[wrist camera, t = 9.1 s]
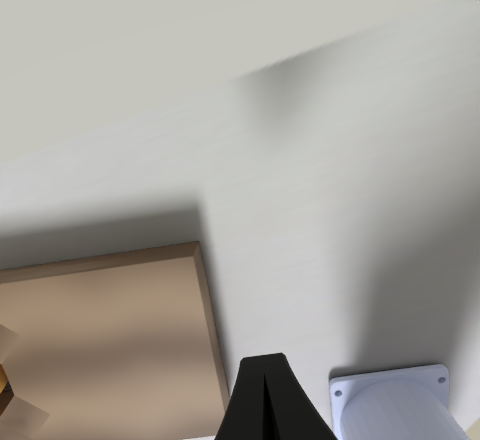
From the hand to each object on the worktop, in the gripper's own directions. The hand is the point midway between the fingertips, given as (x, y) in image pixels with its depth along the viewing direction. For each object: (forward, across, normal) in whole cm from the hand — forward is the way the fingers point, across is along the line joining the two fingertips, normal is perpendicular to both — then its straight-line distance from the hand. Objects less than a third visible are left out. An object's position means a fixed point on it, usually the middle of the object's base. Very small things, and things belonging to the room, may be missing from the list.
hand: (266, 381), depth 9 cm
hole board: (+9, +13, +4) cm, 17 cm away
